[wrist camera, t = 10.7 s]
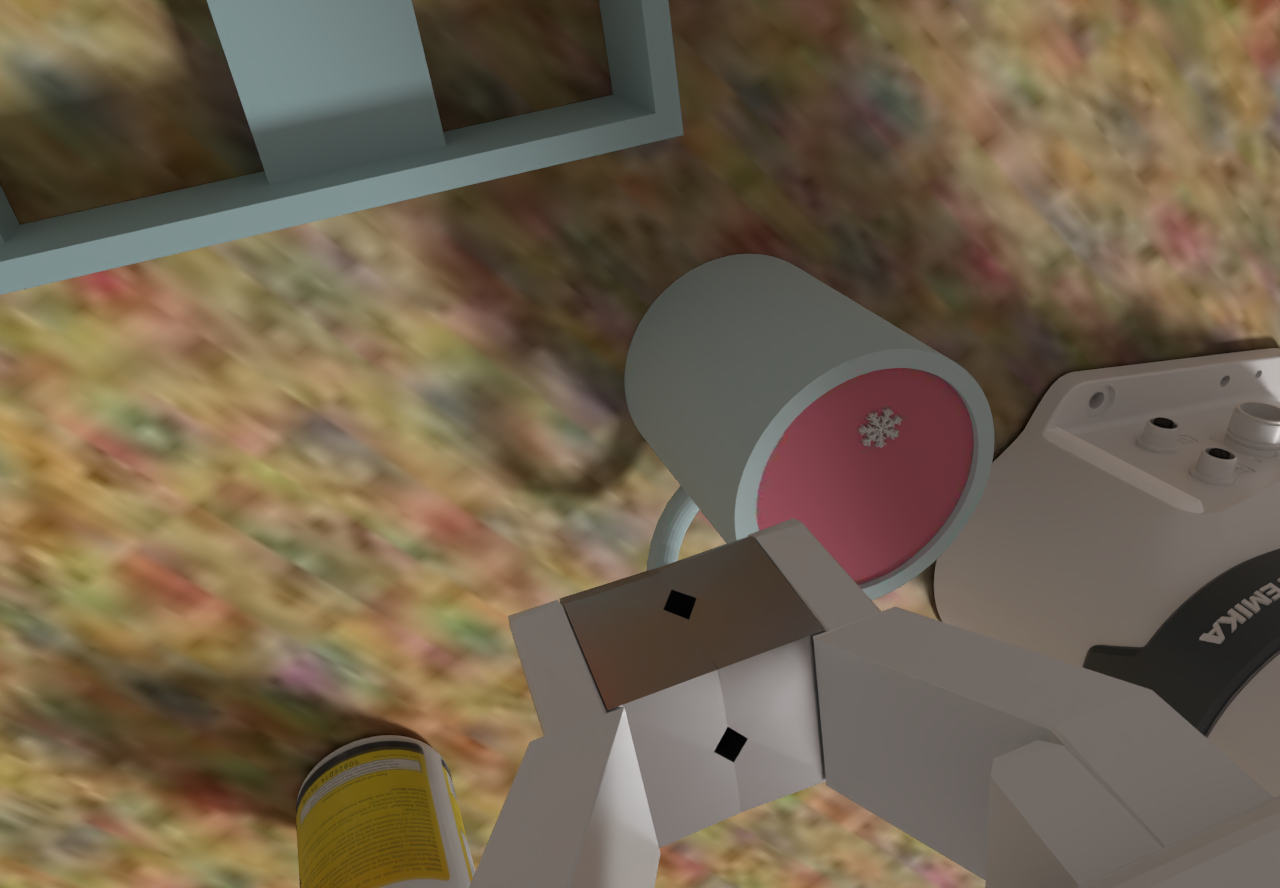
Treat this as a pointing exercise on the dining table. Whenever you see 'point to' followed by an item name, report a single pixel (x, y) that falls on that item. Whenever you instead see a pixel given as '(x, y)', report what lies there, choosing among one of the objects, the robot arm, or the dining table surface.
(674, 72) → the tray
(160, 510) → the dining table surface
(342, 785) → the pill bottle
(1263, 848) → the robot arm
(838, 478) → the mug
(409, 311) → the dining table surface
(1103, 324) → the dining table surface
